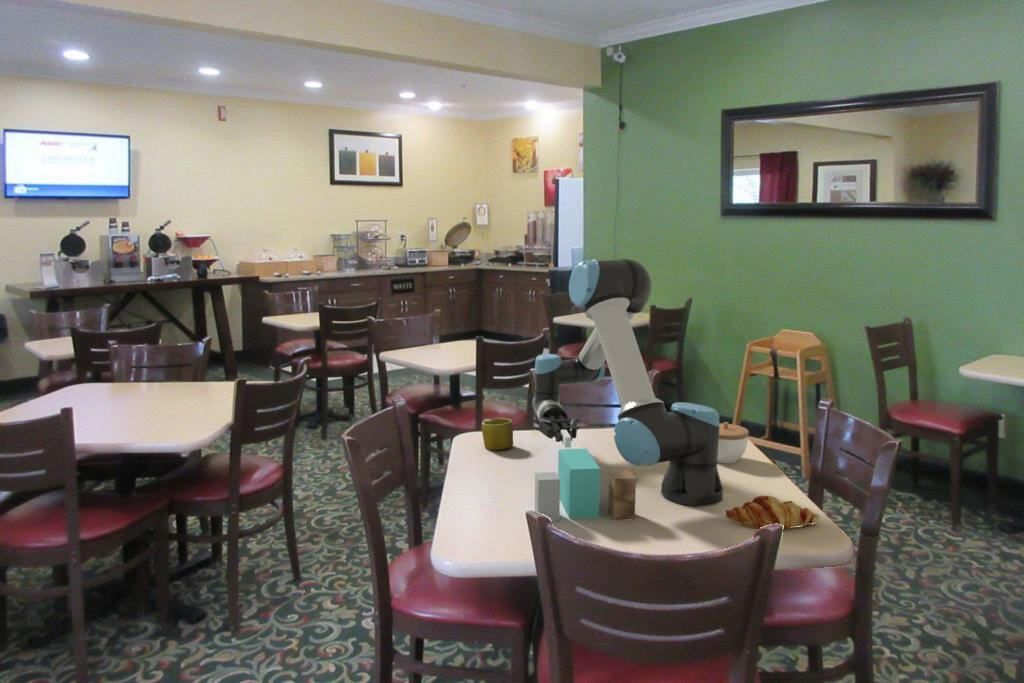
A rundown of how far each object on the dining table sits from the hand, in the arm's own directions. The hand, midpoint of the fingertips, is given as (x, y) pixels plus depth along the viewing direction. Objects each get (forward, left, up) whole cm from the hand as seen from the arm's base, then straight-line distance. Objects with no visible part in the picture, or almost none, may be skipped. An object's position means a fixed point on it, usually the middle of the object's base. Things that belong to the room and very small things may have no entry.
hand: (568, 442), depth 196 cm
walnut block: (-9, +19, -12) cm, 24 cm away
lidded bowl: (-49, -18, -13) cm, 54 cm away
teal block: (0, +12, -12) cm, 17 cm away
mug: (+15, -38, -13) cm, 43 cm away
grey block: (+8, +18, -12) cm, 23 cm away
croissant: (-42, +28, -13) cm, 52 cm away
